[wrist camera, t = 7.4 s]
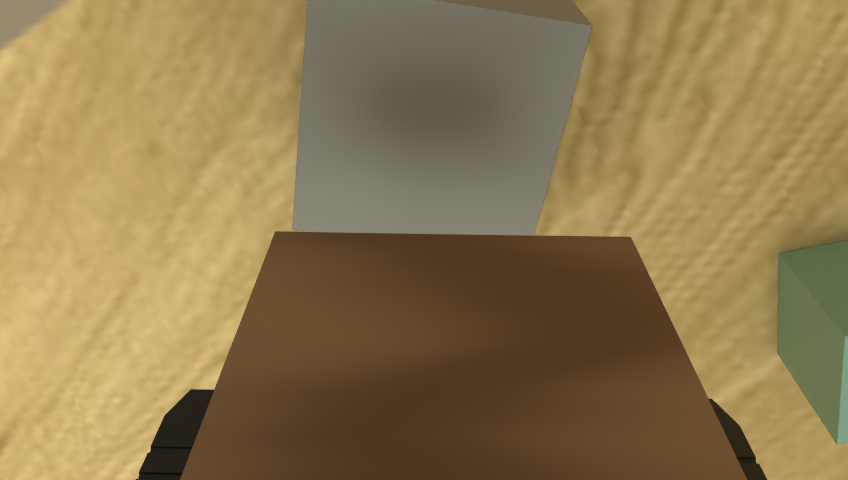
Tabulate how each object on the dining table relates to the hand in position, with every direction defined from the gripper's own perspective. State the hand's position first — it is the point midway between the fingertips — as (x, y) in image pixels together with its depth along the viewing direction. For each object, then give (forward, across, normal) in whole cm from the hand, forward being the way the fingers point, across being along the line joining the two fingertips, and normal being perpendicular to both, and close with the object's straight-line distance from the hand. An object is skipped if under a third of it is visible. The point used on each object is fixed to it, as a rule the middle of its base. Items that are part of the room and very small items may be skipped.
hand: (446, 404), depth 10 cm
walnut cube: (+1, 0, 0) cm, 1 cm away
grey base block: (+15, 0, 0) cm, 15 cm away
